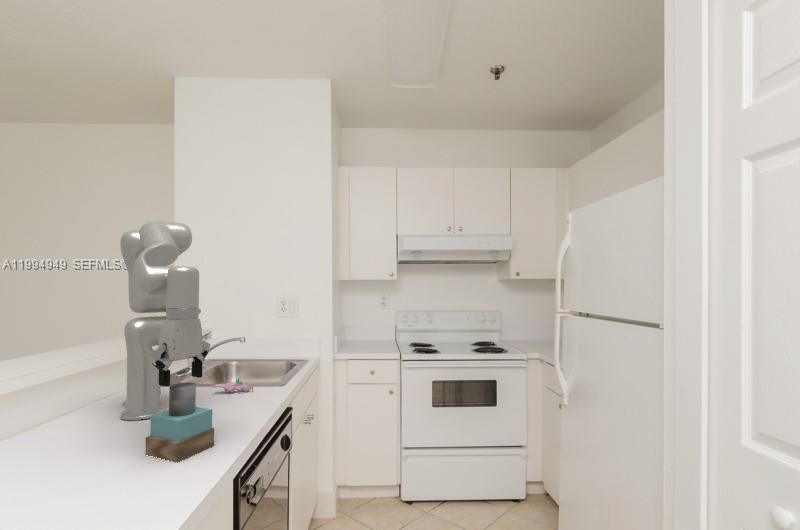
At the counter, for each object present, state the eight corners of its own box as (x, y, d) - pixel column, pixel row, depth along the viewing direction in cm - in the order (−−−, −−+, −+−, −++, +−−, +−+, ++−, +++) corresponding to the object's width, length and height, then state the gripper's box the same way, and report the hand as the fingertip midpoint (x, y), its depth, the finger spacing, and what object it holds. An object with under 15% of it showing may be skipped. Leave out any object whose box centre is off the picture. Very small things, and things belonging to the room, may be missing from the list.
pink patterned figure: (252, 392, 170) (212, 389, 165) (255, 377, 170) (215, 374, 166) (252, 396, 164) (210, 393, 160) (254, 381, 164) (213, 377, 160)
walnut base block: (145, 457, 105) (145, 437, 105) (183, 441, 115) (183, 423, 115) (178, 464, 101) (178, 443, 101) (213, 447, 111) (214, 428, 111)
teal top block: (150, 436, 106) (150, 416, 106) (184, 423, 115) (185, 405, 115) (178, 442, 102) (178, 421, 102) (212, 428, 111) (212, 409, 111)
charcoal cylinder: (163, 414, 107) (164, 386, 107) (183, 408, 112) (184, 381, 113) (180, 417, 105) (181, 389, 105) (200, 410, 110) (200, 383, 110)
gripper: (199, 311, 119) (198, 372, 118) (140, 317, 103) (139, 387, 102) (219, 312, 116) (218, 375, 115) (162, 318, 100) (161, 391, 100)
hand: (181, 381), depth 109 cm, fingers open, 9 cm apart
